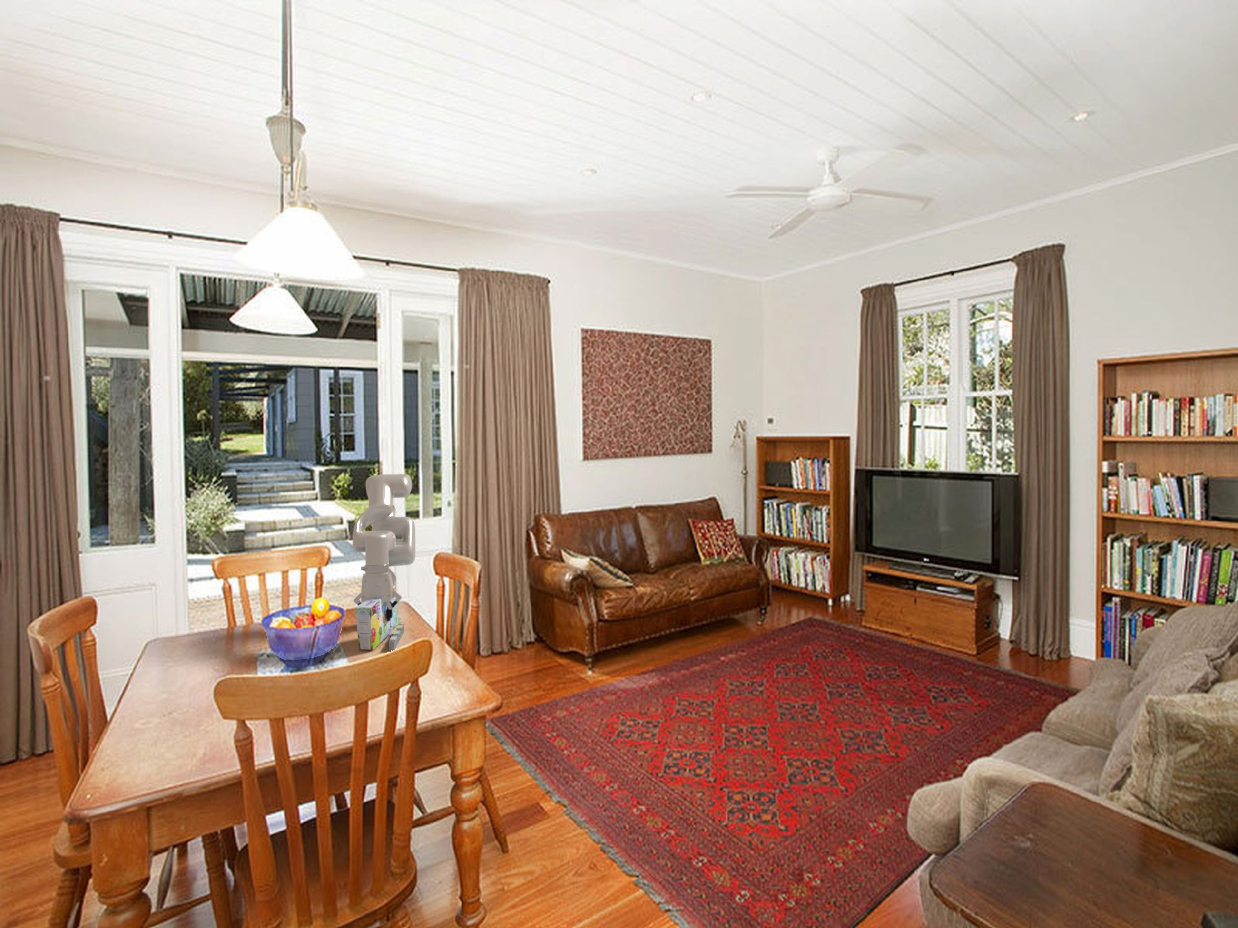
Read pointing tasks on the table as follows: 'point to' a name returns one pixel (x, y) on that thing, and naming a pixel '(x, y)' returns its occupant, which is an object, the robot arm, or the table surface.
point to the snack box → (374, 622)
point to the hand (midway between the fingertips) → (378, 620)
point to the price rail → (396, 637)
